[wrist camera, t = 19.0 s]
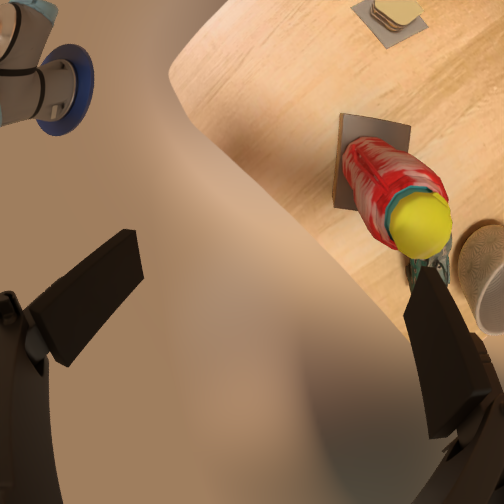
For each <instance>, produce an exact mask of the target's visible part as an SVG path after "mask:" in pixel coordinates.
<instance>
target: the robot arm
mask: <svg viewBox="0 0 504 504" xmlns="http://www.w3.org/2000/svg"><path fill="white" fill-rule="evenodd" d="M57 14H58V8H57V6H56V5H54V4H52V3H49V2H47V1H43V0H10V1H9V3H5V4H2V5H0V127H2V126H5V125H9V124H12V123H16V122H20V121H24V120H27V119H31V118H33V119H38V120H43V121H48V122H53V121H58V120H61V119H63V118H64V117H65V116H66V115H67V114H68V113H69V112H70V110H71V109H72V107H73V105H74V103H75V100H76V97H77V93H78V84H79V82H78V73H77V70H76V68H75V66H74V64H73V63H72V62H71V61H69V60H65V59H58V60H54V61H51V62H49V63H46V64H44V65H42V66H40V67H37V65H38V62H39V59H40V57H41V54H42V51H43V49H44V46H45V44H46V41H47V39H48V36H49V34H50V32H51V30H52V28H53V25H54V21H55V19H56V16H57ZM143 279H144V276H143V271H142V265H141V259H140V254H139V248H138V242H137V236H136V230H129V229H123V230H121V231H120V232H119V233H117V234H116V235H115V236H113V237H112V238H111V239H109V240H108V241H107V242H105V243H104V244H103V245H101V246H100V247H99V248H98V249H96V250H95V251H94V252H93V253H91V254H90V255H89V256H88V257H86V258H85V259H84V260H83V261H81V262H80V263H79V264H78V265H76V266H75V267H74V268H73V269H72V270H70V271H69V272H68V273H67V274H66V275H65V276H63V277H61V278H59V279H58V280H57V281H55V282H54V283H53V284H52V285H51V287H48V288H47V289H46V290H45V292H43V293H42V294H41V295H40V296H38V298H36V299H35V300H34V301H33V302H32V303H31V304H30V305H29V306H27V307H26V308H25V309H24V310H22V308H21V306H20V304H19V302H18V299H17V297H16V295H15V293H14V292H13V291H4V292H2V293H0V504H63V501H62V496H61V492H60V487H59V482H58V477H57V472H56V466H55V460H54V453H53V445H52V436H51V425H50V413H49V412H50V411H49V360H48V358H47V356H46V355H47V354H48V353H49V352H51V354H52V356H53V357H54V359H55V361H56V362H58V363H60V364H62V365H64V366H66V367H69V366H70V365H71V363H72V362H73V361H74V360H75V358H76V357H77V356H78V355H79V353H80V352H81V351H82V350H83V349H84V347H85V346H86V345H87V344H88V342H89V341H90V340H91V339H92V338H93V336H94V335H95V334H96V333H97V332H98V330H99V329H100V328H101V327H102V326H103V324H104V323H105V322H106V321H107V320H108V319H109V317H110V316H111V315H112V314H113V313H114V312H115V310H116V309H117V308H118V307H119V306H120V305H121V304H122V302H123V301H124V300H125V299H126V298H127V297H128V296H129V295H130V293H131V292H132V291H133V290H134V289H135V288H136V287H137V285H138V284H139V283H140V282H141V281H142V280H143ZM403 317H404V320H405V324H406V327H407V331H408V335H409V338H410V342H411V346H412V350H413V354H414V358H415V363H416V366H417V371H418V376H419V381H420V386H421V391H422V396H423V402H424V407H425V413H426V419H427V426H428V433H429V439H436V438H446V437H448V436H449V435H450V434H451V433H452V432H453V431H454V430H455V429H457V434H458V437H456V439H454V440H453V441H452V442H451V443H450V444H449V445H447V446H446V447H445V448H444V449H443V450H442V452H445V451H446V450H448V451H447V453H446V454H445V456H444V458H443V459H442V461H441V462H440V464H439V465H438V467H437V469H436V470H435V472H434V473H433V475H432V476H431V478H430V479H429V481H428V482H427V483H426V485H425V486H424V487H423V489H422V490H421V492H420V493H419V494H418V496H417V497H416V498H415V500H414V501H413V502H412V503H411V504H504V393H503V390H502V387H501V385H500V382H499V379H498V377H497V374H496V371H495V369H494V367H493V364H492V363H491V359H490V357H489V355H488V354H487V350H486V348H485V345H484V343H483V341H482V340H481V339H480V338H479V337H478V336H477V335H476V333H470V332H469V330H468V328H467V326H466V324H465V321H464V319H463V317H462V315H461V313H460V311H459V309H458V307H457V305H456V303H455V301H454V300H453V298H452V296H451V294H450V292H449V290H448V288H447V287H446V285H445V283H444V281H443V279H442V278H441V276H440V274H439V272H438V271H437V269H436V268H434V267H427V266H421V268H420V271H419V274H418V277H417V280H416V283H415V286H414V289H413V291H412V294H411V297H410V299H409V302H408V304H407V307H406V310H405V312H404V315H403Z"/></svg>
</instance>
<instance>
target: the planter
mask: <svg viewBox="0 0 504 504" xmlns="http://www.w3.org/2000/svg"><path fill="white" fill-rule="evenodd" d="M458 277H459V282H460V285H461V288H462V290H463V293H464V295H465V297H466V299H467V301H468V304H469V306H470V308H471V311H472V313H473V315H474V318H475V320H476V323H477V325H478V327H479V329H480V330H481V331H482V332H484V333H485V334H488V335H502V334H504V226H500V225H487V226H484V227H481V228H480V229H478V230H476V231H475V232H474V233H473V234H472V235H471V236H470V237H469V238H468V239H467V240H466V242H465V244H464V245H463V247H462V249H461V252H460V255H459V259H458Z"/></svg>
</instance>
